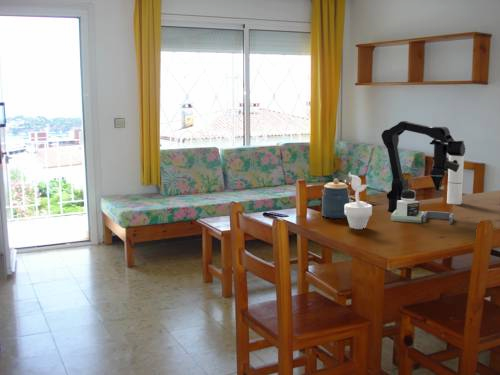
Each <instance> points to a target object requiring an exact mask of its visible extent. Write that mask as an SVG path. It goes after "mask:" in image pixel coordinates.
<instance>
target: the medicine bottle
mask: <svg viewBox="0 0 500 375" xmlns="http://www.w3.org/2000/svg"><path fill="white" fill-rule="evenodd" d="M401 199H402V200H398V201H397V215H402V216H416V217H419V211H420V201H419V200H416V191H415V190H412V189H409V190H403V191H402V193H401Z"/></svg>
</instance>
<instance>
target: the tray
mask: <svg viewBox="0 0 500 375" xmlns="http://www.w3.org/2000/svg"><path fill="white" fill-rule="evenodd" d="M424 213H425V211H423V210H422V211H420V210H419V217H416V216H402V215H397V210H395V211H394V212H392V213H391V215H390V221H391V222H393V221H395V222H405V223H418V224H420V223H421V224H422V223H423V214H424Z"/></svg>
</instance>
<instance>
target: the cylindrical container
mask: <svg viewBox="0 0 500 375" xmlns="http://www.w3.org/2000/svg"><path fill="white" fill-rule="evenodd" d="M448 160H449V161H454V160H456V161H458V164H459V165H460V166H459V168H458V170H457V172H454V171H453V170H450V169H448V171H447V174H448V176H447V191H446V192H447V193H446V194H447V196H446V204H448V205H462V202H463V201H462V200H463V183H464V181H463V180H464V167H465V166H464V165H465V155H464V156H451V155H449V154H448Z"/></svg>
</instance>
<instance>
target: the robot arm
mask: <svg viewBox="0 0 500 375" xmlns="http://www.w3.org/2000/svg"><path fill="white" fill-rule="evenodd" d="M405 131H408V132H413V133H416V134H422V135H425V136H428V137H429V138H431V139H432V141H430V142H429V145H433V157H432V162H433V164H432V169H431V170H430V171H429V172H430V173H429V174H430V177H431V180H432V182H433V185H434V188H435V190H436V191H439V190H440V189H441V187H442V185H443V181H444V178H445V177H446V175H447V174H448V170H449V169H450V170H453V171H454V172H457V170H458V168H459V166H460V165H459V164H458V161H456V160H454V161H449V155H451V156H464V157H465V154H466V145H465V143H464V142H465V141H464V140H454V138H453V136H452V135H451V134H450V130H449V128H448V127H447V126H428V125H425V124H419V123H415V122H410V121H406V120H403V121H399V122H398V123H397V124H396V125H394V126H392V127H390V128H388V129H384V130H383V131H382V133H381V140H382V142H383V144H384V146H385V147H386V149H387V155H388V158H389V165H390V170H391V175H392V181H391V184H390V185H391V190H390V191H388V193H387V194H386V198H387V200H388V209H387V212H392V213H393V212H394V211H395V210H397V201H398V200H402V199H401V193H402V191H403V190H410V185H409V179H408V178H404V176H403V169H402V166H401V160H400V159H401V158H400V155H399V149H398V148H399V147H398V146H399V145H398V144H399V141H400V139H399V138H400V137H399V136H400V135H402V134H403V133H404V132H405Z"/></svg>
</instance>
